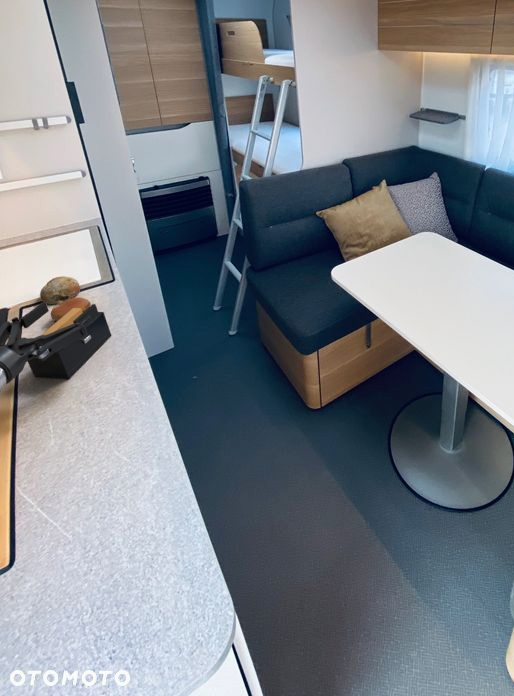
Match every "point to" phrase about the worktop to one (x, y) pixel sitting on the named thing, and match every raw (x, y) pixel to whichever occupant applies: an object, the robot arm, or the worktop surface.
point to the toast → (64, 320)
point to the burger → (69, 307)
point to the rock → (59, 290)
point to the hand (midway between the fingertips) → (70, 307)
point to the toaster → (73, 352)
